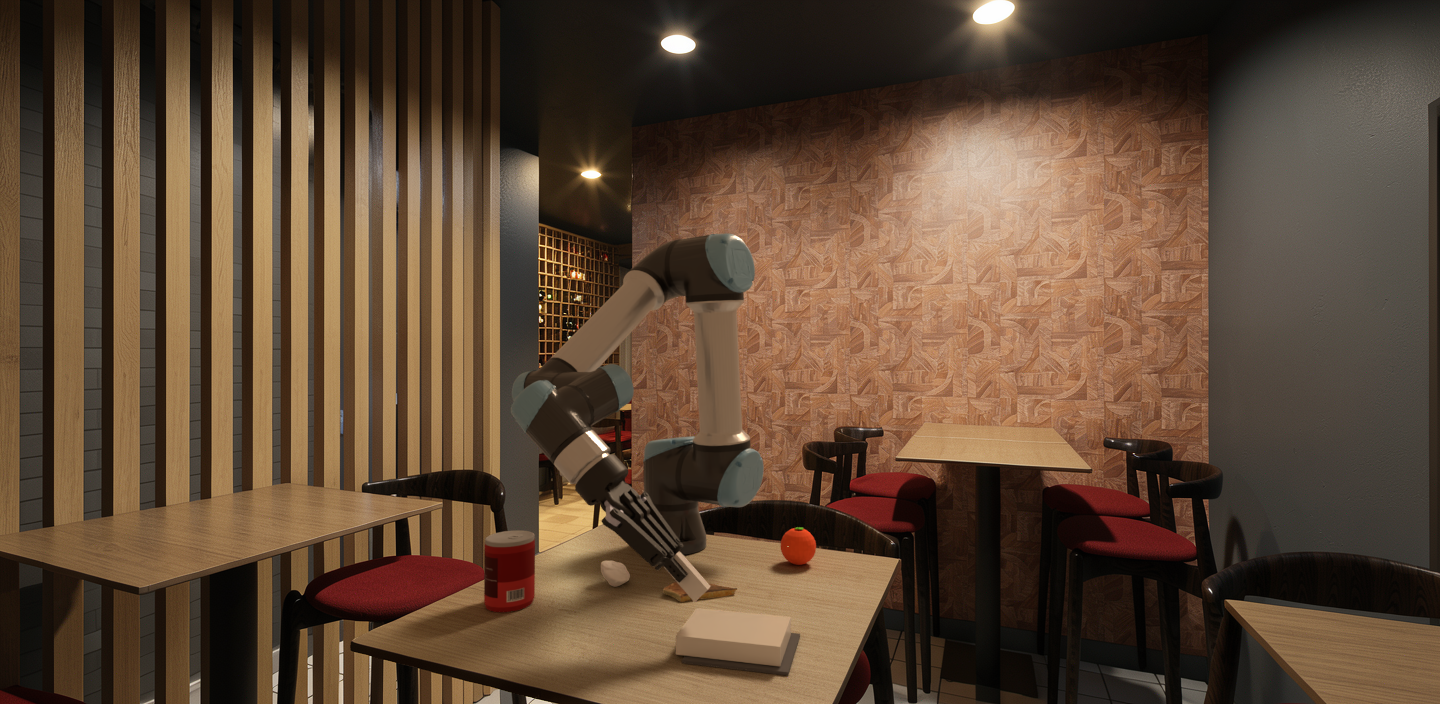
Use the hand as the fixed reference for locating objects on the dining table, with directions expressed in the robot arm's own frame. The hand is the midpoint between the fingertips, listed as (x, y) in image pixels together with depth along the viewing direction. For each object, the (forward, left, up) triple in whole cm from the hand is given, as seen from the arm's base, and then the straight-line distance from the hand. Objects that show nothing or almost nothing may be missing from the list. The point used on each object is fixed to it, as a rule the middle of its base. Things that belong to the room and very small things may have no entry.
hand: (702, 594), depth 91 cm
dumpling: (-20, -22, -7) cm, 30 cm away
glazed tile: (0, -2, -5) cm, 6 cm away
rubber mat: (0, +6, -7) cm, 9 cm away
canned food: (-7, -35, -7) cm, 36 cm away
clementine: (-40, +8, -7) cm, 42 cm away
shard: (-20, -7, -8) cm, 23 cm away
